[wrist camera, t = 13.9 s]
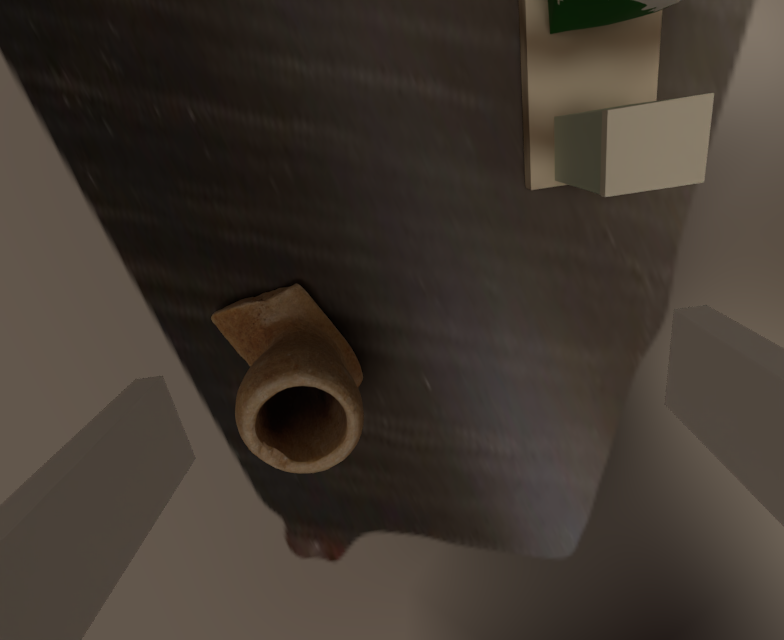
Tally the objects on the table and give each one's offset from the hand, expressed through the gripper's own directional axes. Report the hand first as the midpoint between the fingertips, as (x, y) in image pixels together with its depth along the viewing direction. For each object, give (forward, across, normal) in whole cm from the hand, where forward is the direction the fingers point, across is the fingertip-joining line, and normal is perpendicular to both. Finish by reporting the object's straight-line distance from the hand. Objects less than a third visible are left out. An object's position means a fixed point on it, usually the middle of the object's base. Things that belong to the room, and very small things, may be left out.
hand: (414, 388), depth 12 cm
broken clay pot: (+32, -12, -12) cm, 36 cm away
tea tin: (+30, +16, +3) cm, 34 cm away
